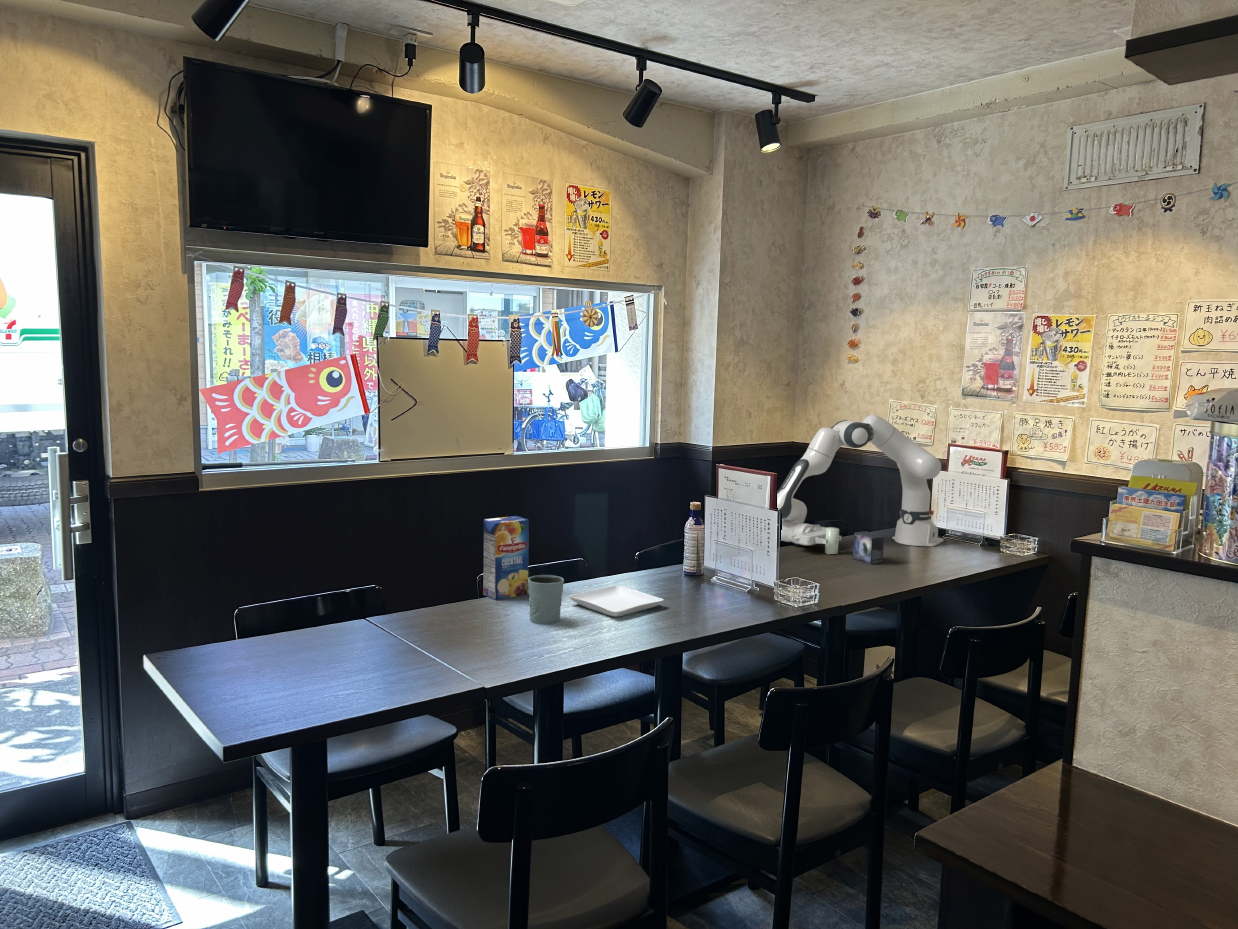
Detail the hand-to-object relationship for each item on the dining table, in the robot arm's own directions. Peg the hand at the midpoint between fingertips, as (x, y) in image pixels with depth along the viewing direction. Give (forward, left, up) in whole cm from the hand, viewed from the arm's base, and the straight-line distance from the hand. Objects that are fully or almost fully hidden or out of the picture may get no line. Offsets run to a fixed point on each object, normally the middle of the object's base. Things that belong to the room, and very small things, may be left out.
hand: (833, 540), depth 345 cm
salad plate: (+117, 0, -6) cm, 117 cm away
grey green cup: (+142, -3, -6) cm, 142 cm away
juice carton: (+136, -31, -6) cm, 139 cm away
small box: (0, +15, -6) cm, 16 cm away
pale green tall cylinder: (0, -1, -6) cm, 6 cm away
